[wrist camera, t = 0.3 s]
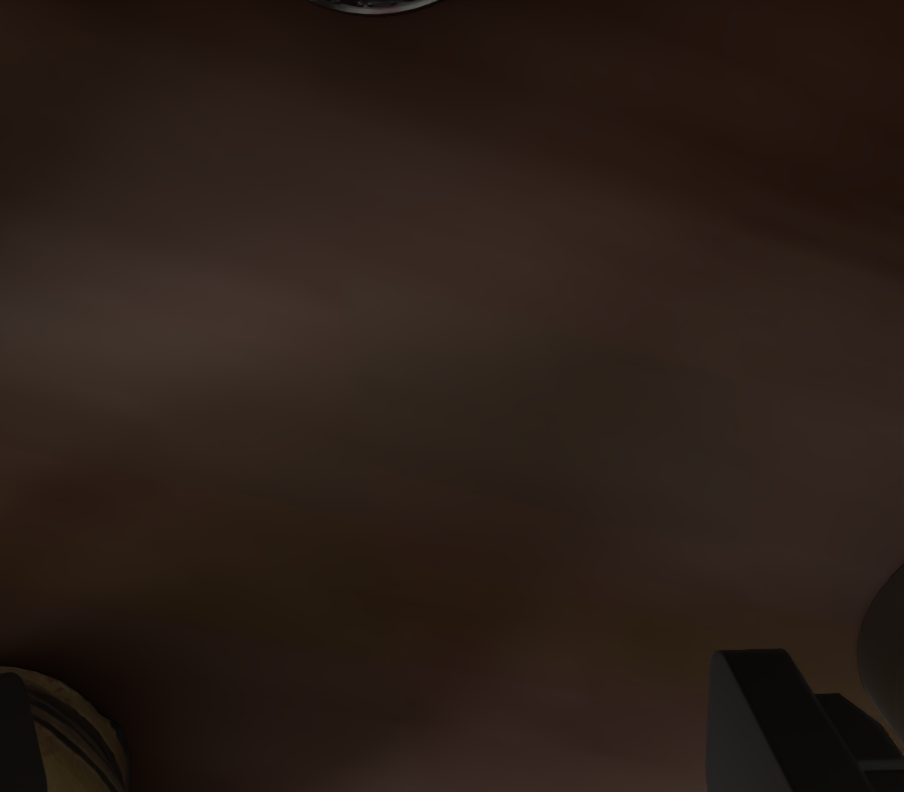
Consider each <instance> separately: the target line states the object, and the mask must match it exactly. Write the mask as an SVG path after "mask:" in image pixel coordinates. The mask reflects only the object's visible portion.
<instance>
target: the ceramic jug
mask: <svg viewBox="0 0 904 792" xmlns="http://www.w3.org/2000/svg"><path fill="white" fill-rule="evenodd" d="M0 672H13V673H16V674H18V675H19V676H20V677H21V679H22V680H23V682H24V684H25V686H26V690H27V694H28V698H29V703H30V707H31V711H32V716H33V720H34V725H35V729H36V734H37V738H38V742H39V747H40V751H41V756H42V760H43V764H44V769H45V773H46V778H47V786H48V792H129V791H130V783H131V768H130V760H129V752H128V748H127V744H126V740H125V736H124V732H123V728H122V727H120V726H119V725H117V724H115V723H113V722H112V721H110V720H108V719H107V718H105V717H103V716H102V715H100V714H99V713H98V712H97V711H96V709H95V708H94V707H93V705H92V704H91V703H90V701H88V700H87V699H86V698H84V697H83V696H82V695H80V694H79V693H78V692H76V691H75V690H74V689H72V688H71V687H70V686H68V685H67V684H66V683H64V682H62V681H59V680H57V679H54V678H51V677H49V676H46V675H43V674H41V673H38V672H35V671H30V670H26V669H21V668H16V667H7V666H0Z"/></svg>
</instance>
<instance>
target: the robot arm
mask: <svg viewBox="0 0 904 792" xmlns="http://www.w3.org/2000/svg"><path fill="white" fill-rule="evenodd" d="M301 1H302V0H301ZM305 1H308V2H310V3H312V4H314V5H317V6H319V7H322V8H325V9H328V10H331V11H334V12H338V13H343V14H347V15H353V16H362V17H388V16H398V15H403V14H408V13H412V12H416V11H419V10H422V9H425V8H429V7H431V6H434V5H436V4H438V3H440V2H442V1H445V0H305ZM305 4H306V3H305ZM705 766H706V782H707V790H708V792H904V756H903V755H902V753H901V752H900V751H899V749H898V748H897V746H896V745H895V744H894V742H893V741H892V740H891V738H890V737H889V735H888V734H887V733H886V731H885V730H884V728H883V727H882V726H881V724H880V723H878V722H877V721H876V720H874V719H873V718H872V717H870V716H869V715H868V714H866V713H865V712H863V711H862V710H861V709H859V708H858V707H857V706H855V705H854V704H853V703H851V702H850V701H849V700H847V699H846V698H845V697H843V696H842V695H841V694H839V693H832V694H814V693H813V691H812V690H811V688H810V687H809V685H808V683H807V682H806V680H805V679H804V677H803V676H802V674H801V672H800V671H799V669H798V668H797V666H796V665H795V663H794V661H793V660H792V658H791V657H790V655H789V654H788V653H787V652H786V651H785V650H784V649H782V648H777V649H747V650H718V651H715V652H714V654H713V656H712V660H711V667H710V684H709V703H708V722H707V742H706V764H705ZM0 792H48V786H47V778H46V773H45V769H44V764H43V760H42V756H41V751H40V747H39V742H38V738H37V734H36V729H35V725H34V720H33V716H32V711H31V707H30V703H29V698H28V694H27V690H26V686H25V684H24V682H23V680H22V679H21V677H20V676H19V675H18V674H16V673H13V672H0Z"/></svg>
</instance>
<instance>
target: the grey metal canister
mask: <svg viewBox="0 0 904 792" xmlns="http://www.w3.org/2000/svg"><path fill="white" fill-rule="evenodd" d="M858 662H859V670H860V675H861V679H862V682H863V685H864V688H865V690H866V692H867V694H868V696H869V698H870V699H871V701H872V702H873V704H874V705H875V707H876V708H877V709H878V711H879V712H880V714H881V715H882V716H883V718H884V719H885V720H886V722H887V723H888V725H889V726H890V727H891V729H892V730H893V732H894V733H895V734H896V736H897V737H898V739H899V740H900V741H901V743H902V744H903V745H904V565H903V566H902V567H901V568H900V569H899V570H898V571H897V572H896V573H895V574H894V575H893V576H892V577H891V578H890V579H889V580H888V582H887V583H886V584H885V585H884V586H883V587H882V589H881V590H880V592H879V593H878V595H877V596H876V598H875V599H874V601H873V603H872V605H871V607H870V609H869V611H868V613H867V615H866V617H865V620H864V623H863V626H862V629H861V634H860V639H859V646H858Z"/></svg>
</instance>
